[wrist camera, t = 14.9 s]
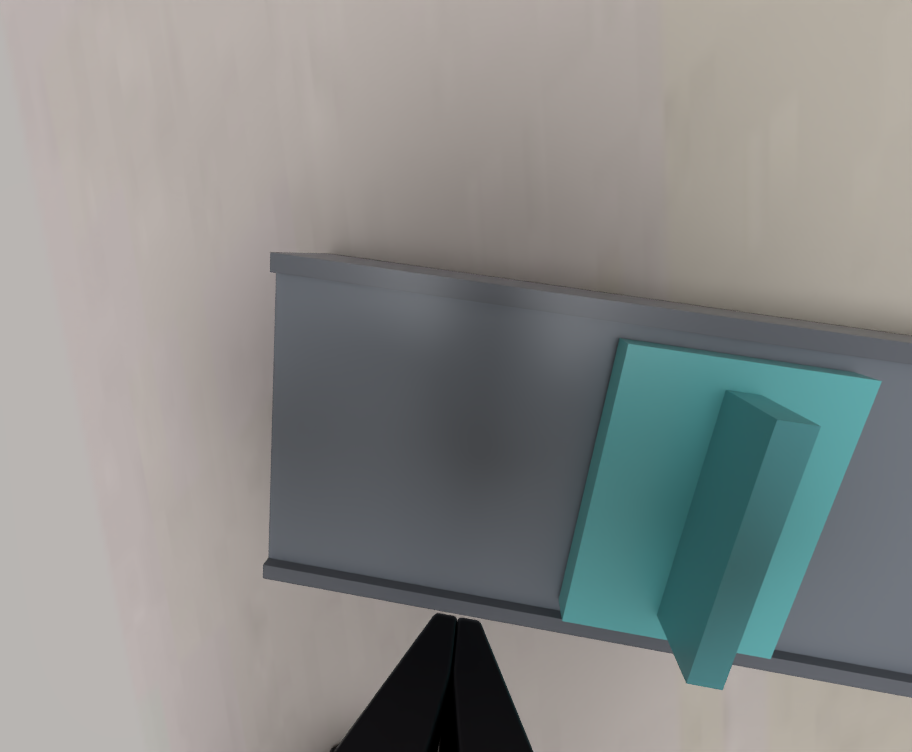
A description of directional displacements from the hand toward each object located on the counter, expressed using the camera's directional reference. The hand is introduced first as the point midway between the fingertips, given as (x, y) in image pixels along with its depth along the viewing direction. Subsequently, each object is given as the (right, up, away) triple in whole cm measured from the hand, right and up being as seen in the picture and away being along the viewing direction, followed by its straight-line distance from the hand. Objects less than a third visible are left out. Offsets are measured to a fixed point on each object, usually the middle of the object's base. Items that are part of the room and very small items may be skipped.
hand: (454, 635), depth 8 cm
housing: (+6, +2, +11) cm, 13 cm away
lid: (+8, +1, +7) cm, 10 cm away
